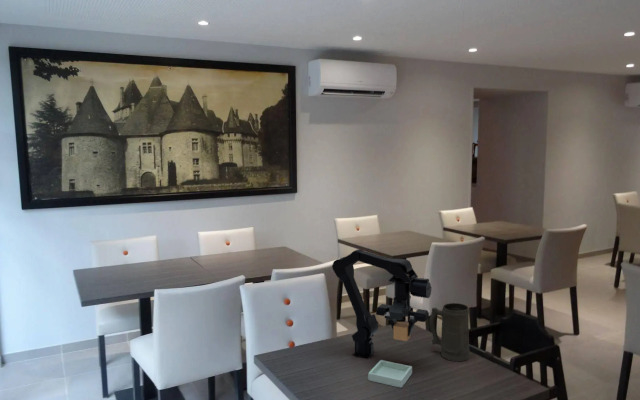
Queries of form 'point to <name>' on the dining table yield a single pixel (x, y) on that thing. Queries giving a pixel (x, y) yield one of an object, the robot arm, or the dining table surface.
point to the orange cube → (401, 331)
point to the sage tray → (390, 373)
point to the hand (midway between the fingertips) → (402, 335)
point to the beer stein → (452, 331)
